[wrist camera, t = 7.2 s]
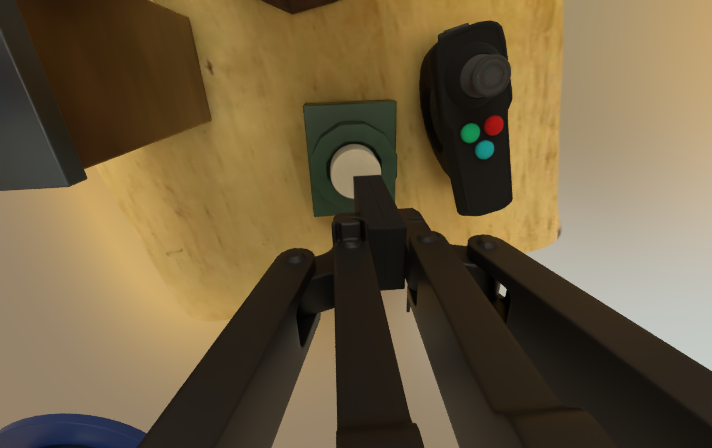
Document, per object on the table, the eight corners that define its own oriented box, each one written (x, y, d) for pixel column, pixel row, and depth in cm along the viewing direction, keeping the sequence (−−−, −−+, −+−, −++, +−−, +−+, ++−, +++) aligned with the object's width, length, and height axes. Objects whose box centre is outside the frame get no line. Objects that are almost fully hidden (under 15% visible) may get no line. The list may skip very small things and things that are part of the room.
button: (377, 188, 25) (381, 197, 23) (331, 191, 25) (332, 200, 23) (377, 142, 24) (381, 147, 22) (328, 144, 23) (328, 150, 22)
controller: (454, 28, 24) (530, 0, 15) (475, 178, 29) (541, 223, 20) (399, 47, 24) (442, 30, 15) (430, 192, 30) (475, 243, 21)
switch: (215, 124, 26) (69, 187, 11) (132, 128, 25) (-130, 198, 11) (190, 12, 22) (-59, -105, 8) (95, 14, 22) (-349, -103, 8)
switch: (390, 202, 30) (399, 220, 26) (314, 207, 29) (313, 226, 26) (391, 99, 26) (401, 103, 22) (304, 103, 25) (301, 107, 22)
